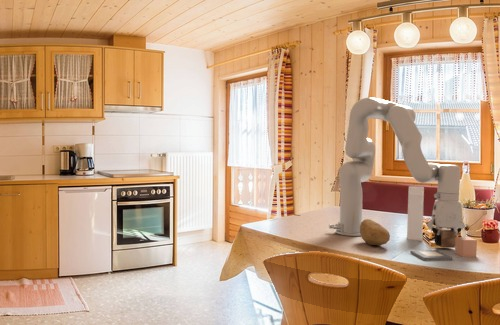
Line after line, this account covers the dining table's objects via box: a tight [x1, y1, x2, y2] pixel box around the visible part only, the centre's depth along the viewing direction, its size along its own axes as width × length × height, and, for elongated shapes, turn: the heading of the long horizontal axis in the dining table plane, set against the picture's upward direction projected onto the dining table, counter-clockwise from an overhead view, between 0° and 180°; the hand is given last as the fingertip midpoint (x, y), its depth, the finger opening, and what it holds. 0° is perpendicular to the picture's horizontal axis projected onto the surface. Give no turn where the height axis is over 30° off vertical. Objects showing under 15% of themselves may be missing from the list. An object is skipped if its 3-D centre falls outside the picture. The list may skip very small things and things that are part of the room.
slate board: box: [410, 249, 453, 261], centre depth 154 cm, size 10×10×1 cm
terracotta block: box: [454, 236, 478, 258], centre depth 157 cm, size 5×5×6 cm
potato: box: [360, 218, 391, 246], centre depth 170 cm, size 9×16×9 cm, turn 10°
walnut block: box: [439, 228, 457, 249], centre depth 166 cm, size 5×5×6 cm
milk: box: [406, 185, 425, 242], centre depth 183 cm, size 6×6×22 cm
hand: (445, 244), depth 166 cm, fingers closed on walnut block, 5 cm apart
